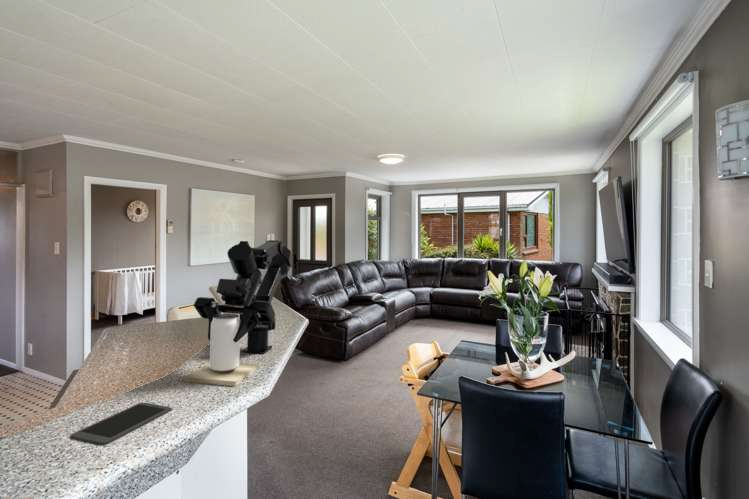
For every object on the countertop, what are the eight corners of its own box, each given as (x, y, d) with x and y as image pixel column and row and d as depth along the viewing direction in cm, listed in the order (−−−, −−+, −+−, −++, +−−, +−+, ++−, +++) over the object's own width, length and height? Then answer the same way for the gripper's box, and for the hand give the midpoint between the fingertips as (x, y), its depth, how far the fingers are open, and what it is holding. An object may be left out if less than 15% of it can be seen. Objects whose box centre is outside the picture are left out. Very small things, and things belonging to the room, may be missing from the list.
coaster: (212, 364, 99) (213, 360, 99) (258, 368, 98) (258, 364, 97) (183, 381, 87) (183, 376, 87) (235, 386, 86) (235, 381, 86)
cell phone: (67, 440, 62) (67, 435, 62) (142, 405, 75) (142, 401, 75) (104, 448, 60) (104, 443, 60) (174, 411, 73) (174, 407, 73)
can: (229, 373, 89) (230, 319, 88) (203, 370, 90) (204, 317, 90) (244, 364, 95) (245, 314, 95) (220, 361, 96) (221, 312, 96)
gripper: (198, 264, 97) (168, 318, 86) (272, 268, 94) (250, 324, 84) (215, 291, 105) (189, 344, 94) (282, 296, 103) (264, 350, 92)
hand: (221, 340), depth 91 cm, fingers closed on can, 6 cm apart
